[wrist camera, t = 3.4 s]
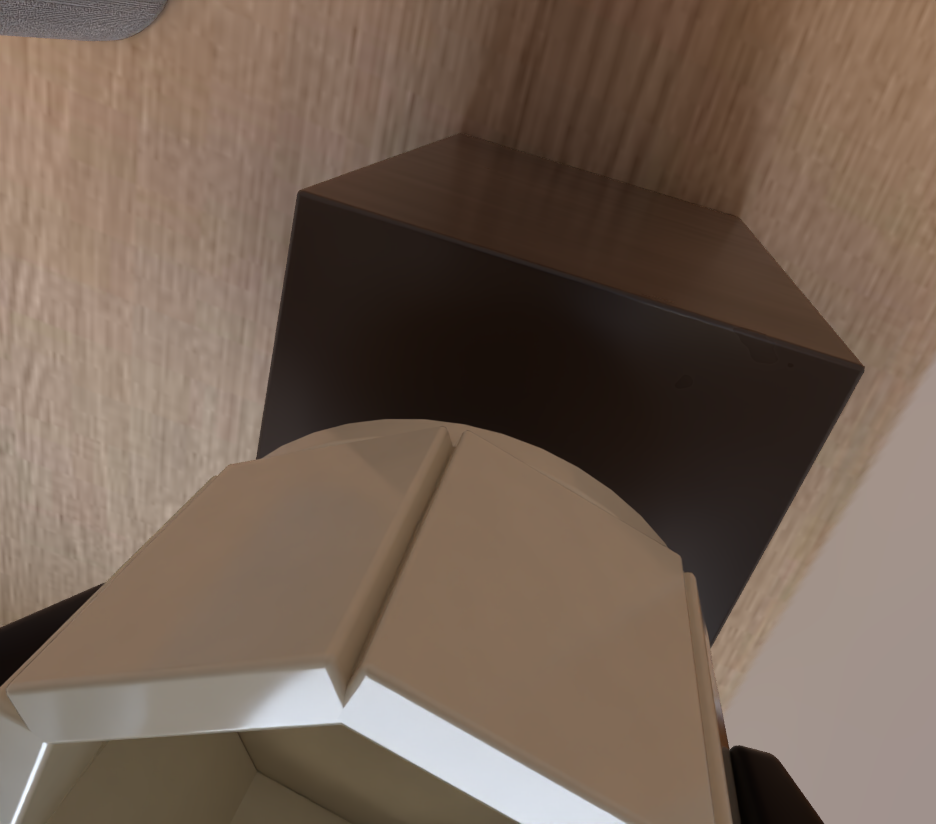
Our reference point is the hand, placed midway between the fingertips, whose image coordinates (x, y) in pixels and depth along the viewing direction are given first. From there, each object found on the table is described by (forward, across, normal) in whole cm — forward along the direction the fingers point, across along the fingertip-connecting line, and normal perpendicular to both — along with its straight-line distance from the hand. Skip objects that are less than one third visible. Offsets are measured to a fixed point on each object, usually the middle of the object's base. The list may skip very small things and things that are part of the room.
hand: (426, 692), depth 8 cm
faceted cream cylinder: (0, 0, 0) cm, 0 cm away
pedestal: (+13, 0, -1) cm, 13 cm away
